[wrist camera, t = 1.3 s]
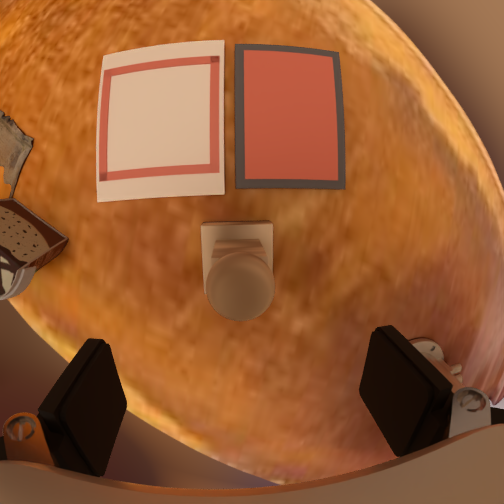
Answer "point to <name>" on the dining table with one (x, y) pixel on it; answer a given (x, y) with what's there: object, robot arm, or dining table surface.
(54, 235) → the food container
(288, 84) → the ink pad
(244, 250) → the stamp
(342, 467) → the dining table surface
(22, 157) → the parchment
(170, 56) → the marked board
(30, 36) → the dining table surface
